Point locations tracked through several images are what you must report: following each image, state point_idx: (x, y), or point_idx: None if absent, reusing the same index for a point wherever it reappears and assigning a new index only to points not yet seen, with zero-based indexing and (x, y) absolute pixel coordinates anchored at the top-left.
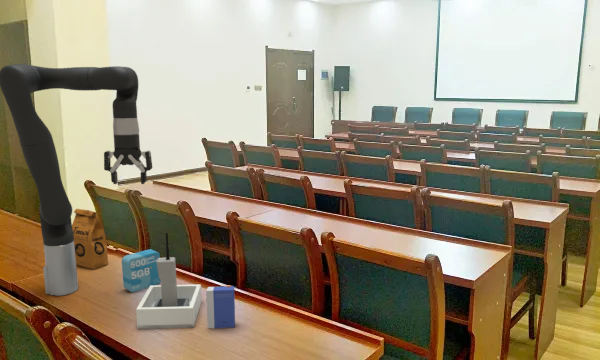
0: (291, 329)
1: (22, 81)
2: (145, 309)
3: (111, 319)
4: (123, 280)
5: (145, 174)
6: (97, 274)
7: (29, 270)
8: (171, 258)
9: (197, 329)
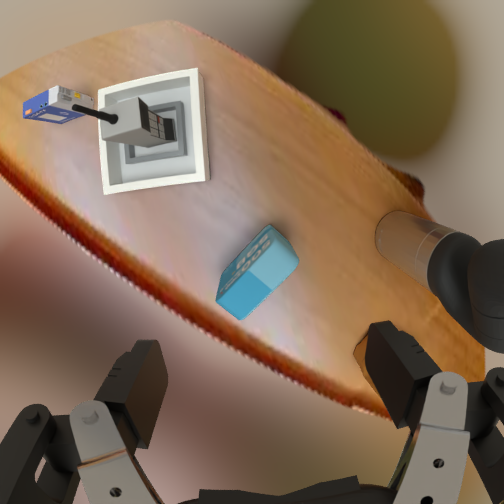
0: (7, 125)
1: None
2: (179, 71)
3: (263, 110)
4: (289, 243)
5: (97, 396)
6: (360, 309)
7: None
8: (106, 127)
9: None
